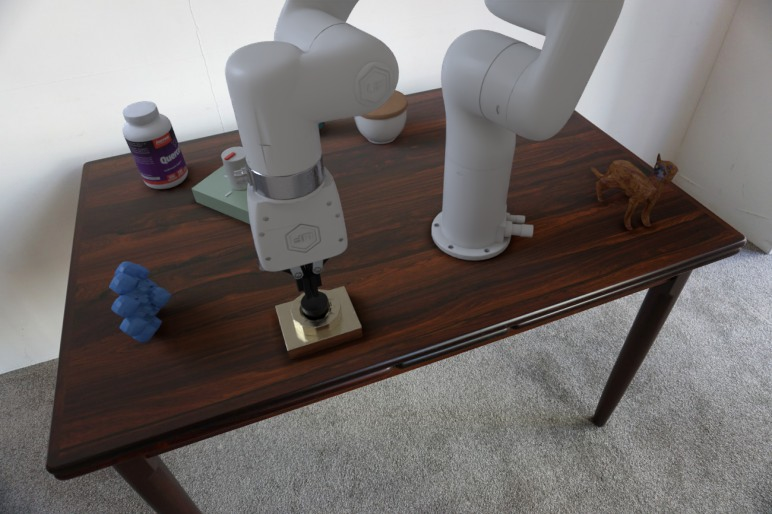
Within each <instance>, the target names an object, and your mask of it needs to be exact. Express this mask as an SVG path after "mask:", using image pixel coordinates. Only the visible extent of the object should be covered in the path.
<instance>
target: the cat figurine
mask: <svg viewBox="0 0 772 514" xmlns="http://www.w3.org/2000/svg"><path fill="white" fill-rule="evenodd" d="M590 171H591V172H593V174H594V176H596V177H597V178H598V179H599V180H597V181H596V182H595V190H596V197H597V201H598V202H600V203H603V202H604V200H603V198H602V197H603V196H602V195H603V190H609V189H611V188H618V189H619V190H623V191H624V192H625V195H626V196H627V197H628V198H629V199H628V207H627V209H626V211H625V214H624V217H623V224H624V227H625V229H626V230H627V231H633V229H634V228H633V227H632V225H631V223H632V222H631V221H632V220H631V219H632V215H633V214H634V212H635V211H636V209H637V206H638V204H645V206H644V207H643V210H642V213H641V218H640V219H641V223H642V224H643V226H644V227H645V228H646V227H647V228H649V227H650V228H651V226H652V224H651V222H650V214H651V211H652V210H653V208H654V207H655V205H656V203H657V200H658V199H660V198H661V193H663V192H664V185H667V184H669V183H671V182H672V181H673V179H674V178H675V176H676V175H677V173H678V172H679V168H678V166H677V165H676V164H675V163H673V162H672V161H671V160H663V159H662V157H661V153H657V156H656V162H655V165H654V166H653V169H652V176H653V178H655V180H656V183H657V184H656V187H655V186H654V185H653V184H652V182H651V181H650V179H649V178H648V176H647V175H646V174H645V172H643V171H642V170H641V169H640V168H639V167H637V166H636V165H634V164H633V163H632V162H631V161H629V160H626V159H625V160H624V159H617V160H614V161H612V163H611V164H610V165H609V168H608V170H607V171H606V173H605V174H602V173H601V172H600V171H599V170H598V169H597V168H596V167H595V166H591V167H590Z"/></svg>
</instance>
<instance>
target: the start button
mask: <svg viewBox="0 0 772 514" xmlns="http://www.w3.org/2000/svg"><path fill="white" fill-rule="evenodd" d="M318 292H319V297H316V298H315V297H313V295H312V298H311V299H309V300H307V299H306V296H305V295H304V296H303V297H302V299H301V308H302V312H303V315H304V316H305V317H306V318H308V319H310V320H319V319H322V318H323V317H325V316H326V315H327V314H328V312H329V309H330V308H329V301H328V297H327V296H326V294H324V293H323V292H320V291H318ZM311 294H312V292H311Z"/></svg>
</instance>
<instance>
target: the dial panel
mask: <svg viewBox="0 0 772 514" xmlns="http://www.w3.org/2000/svg"><path fill="white" fill-rule="evenodd" d="M191 192H192V194H193V197H194V200H195V202H196V203H198V204H200V205H202V206H205V207H207V208H209V209H212V210H214V211H217V212H220V213H222V214H224V215H226V216H229V217H232V218H233V219H237V220H238V221H241V222H243V223H246V224H248V225H250V219H249V212H248V202H247V189H246V190H234V189H232V188H231V187H230V184H229V180H228V177H227V174H226V170H225V167H224V164H223V165H221V166H220V167H219V168H217V169H216V170H215V171H213V172H212V173H210V174H209V175H208V176H206V177H205V178H204V179H203V180H201V181H199V182H198V183H197V184H196V185H194V186H193V187H191Z"/></svg>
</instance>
